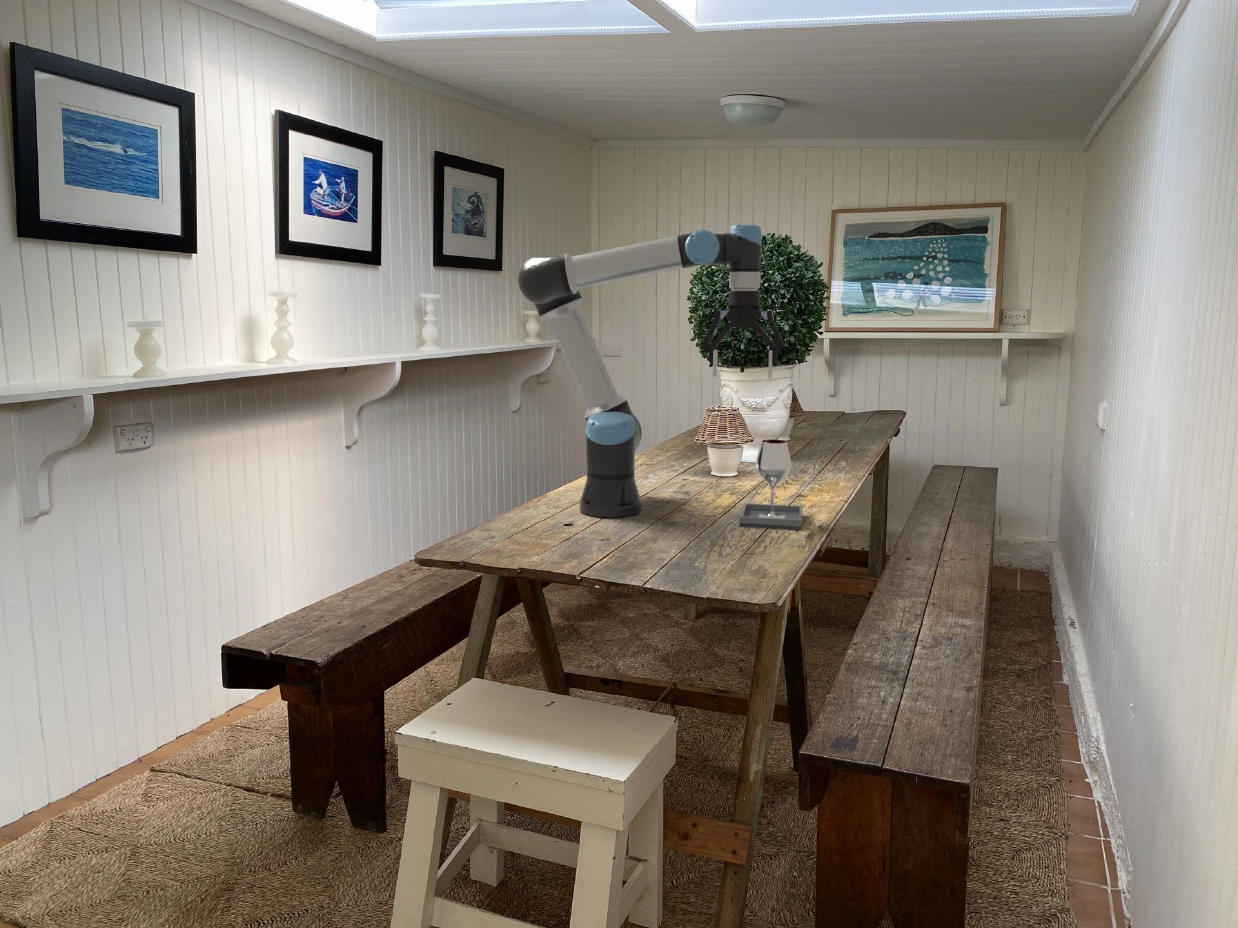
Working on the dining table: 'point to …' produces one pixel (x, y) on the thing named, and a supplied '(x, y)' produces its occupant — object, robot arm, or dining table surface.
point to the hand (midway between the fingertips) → (742, 377)
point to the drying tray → (752, 520)
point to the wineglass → (773, 467)
